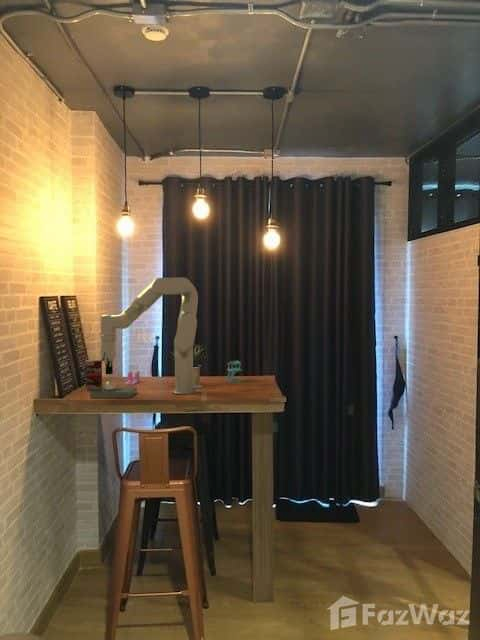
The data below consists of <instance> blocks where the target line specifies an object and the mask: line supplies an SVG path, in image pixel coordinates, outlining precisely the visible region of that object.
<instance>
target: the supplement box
mask: <svg viewBox="0 0 480 640" xmlns="http://www.w3.org/2000/svg"><path fill="white" fill-rule="evenodd" d="M102 363H103V361H101V359H86V360H85V390H86V391H90V390H91V391H93V390H95V389H97V388H99V387H103V365H102Z"/></svg>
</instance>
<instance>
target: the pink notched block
mask: <svg viewBox="0 0 480 640" xmlns="http://www.w3.org/2000/svg"><path fill="white" fill-rule="evenodd" d="M127 376H128V377H127V379H128V380H127V381H126V382H124V387H134V386H135V385H136V383H137V384H139V382H140V371H139V370H135V373H134V378H135V379H133V371H132V370H128V373H127Z"/></svg>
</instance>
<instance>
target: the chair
mask: <svg viewBox="0 0 480 640" xmlns="http://www.w3.org/2000/svg"><path fill="white" fill-rule="evenodd" d="M230 365H231V367H230ZM241 365H242V362H241V361H239V360H231V361H230V362H228V363H227V366H228V368H226V371H228V372H227V379H226V381H227V382H228V383H234V382H235V383H238V382H239V383H240V382H244V379H242V378H240V377H235V378H233V377H234V376H235V374H236V373H238V372H242V370H243V369H242V368H241ZM234 366H235V367H234ZM236 379H238V380H236Z"/></svg>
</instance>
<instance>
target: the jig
mask: <svg viewBox="0 0 480 640" xmlns="http://www.w3.org/2000/svg"><path fill="white" fill-rule="evenodd" d="M137 393H138V387H137V386H115V390H113V391H105V386H102V387H99V388H97V389H93V390H91V391H89V399H130V398H132V397H133V396H135V395H136V394H137Z"/></svg>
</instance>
